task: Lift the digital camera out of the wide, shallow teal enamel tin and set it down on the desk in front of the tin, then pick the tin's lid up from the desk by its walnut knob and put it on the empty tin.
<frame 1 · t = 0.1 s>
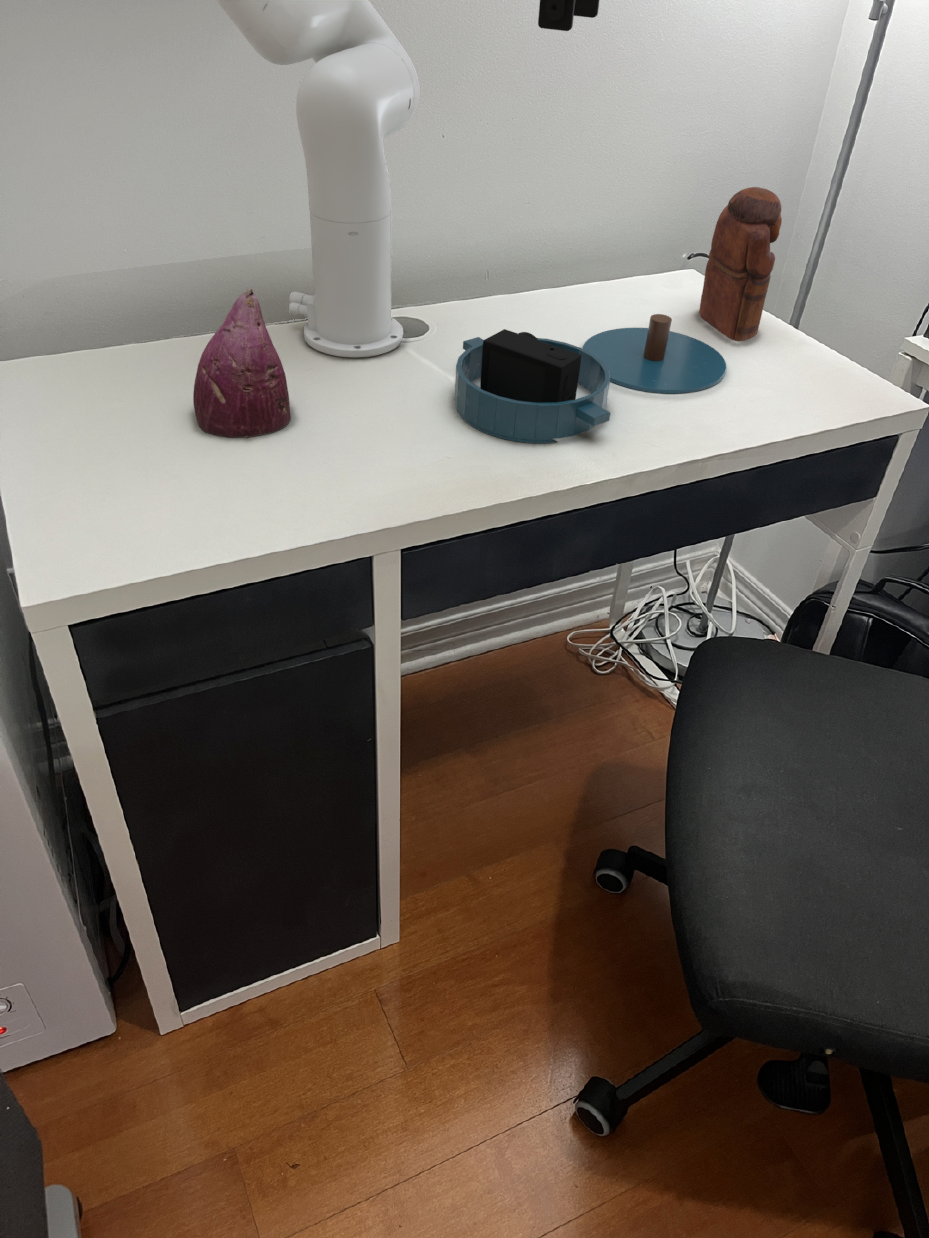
hand: (568, 22, 92), 37 cm above the table, tool pointing down, fingers open, 9 cm apart
digital camera: (529, 404, 109), resting on tin
wooden figurine: (727, 328, 130), on the table
tin lid: (653, 360, 119), point 1 cm above the table
vegetable: (243, 417, 104), on the table
tin: (529, 406, 109), on the table
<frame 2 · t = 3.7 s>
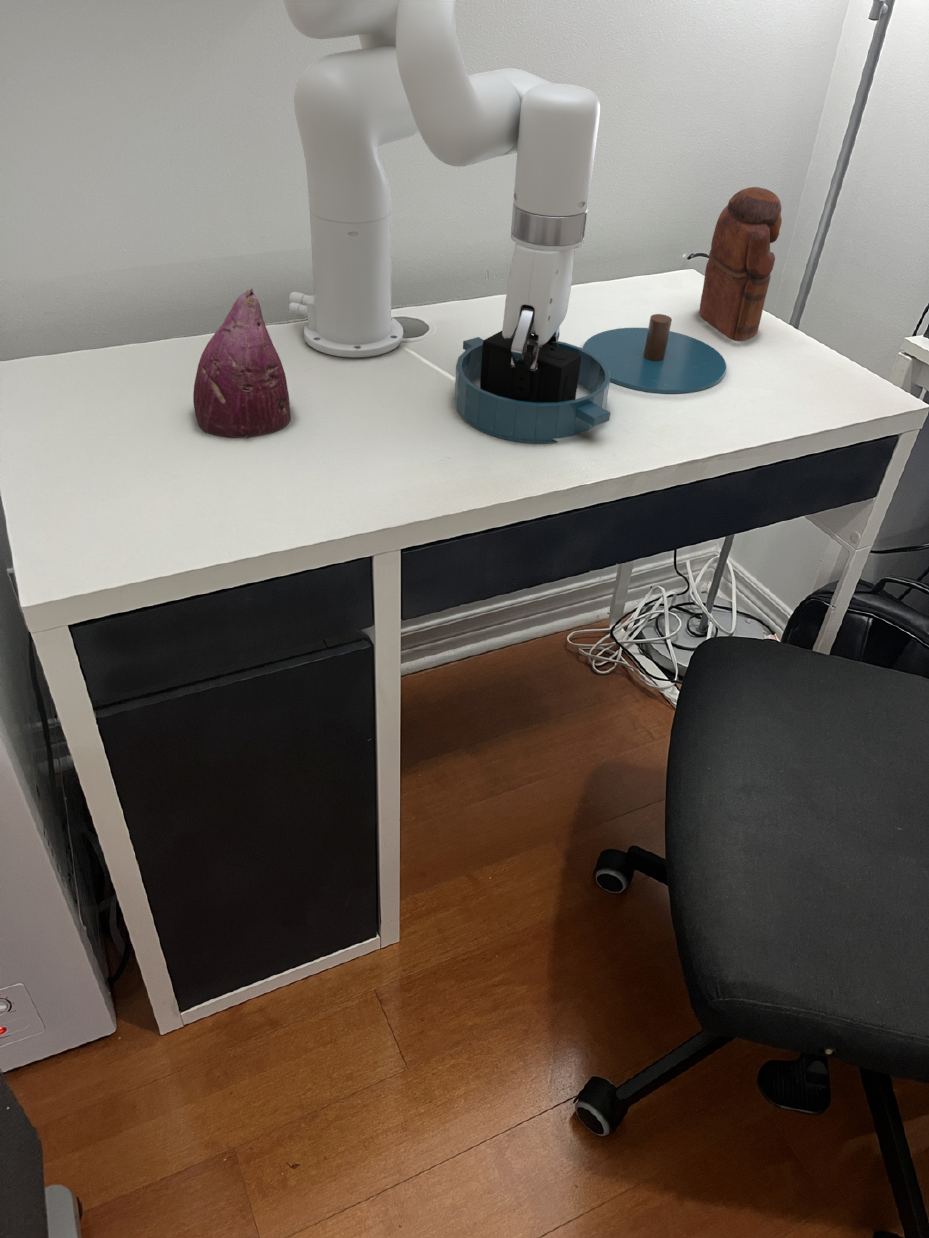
hand: (532, 386, 107), 3 cm above the table, tool pointing down, fingers closed on digital camera, 6 cm apart
digital camera: (529, 404, 109), resting on tin, touching gripper
everything else where it was.
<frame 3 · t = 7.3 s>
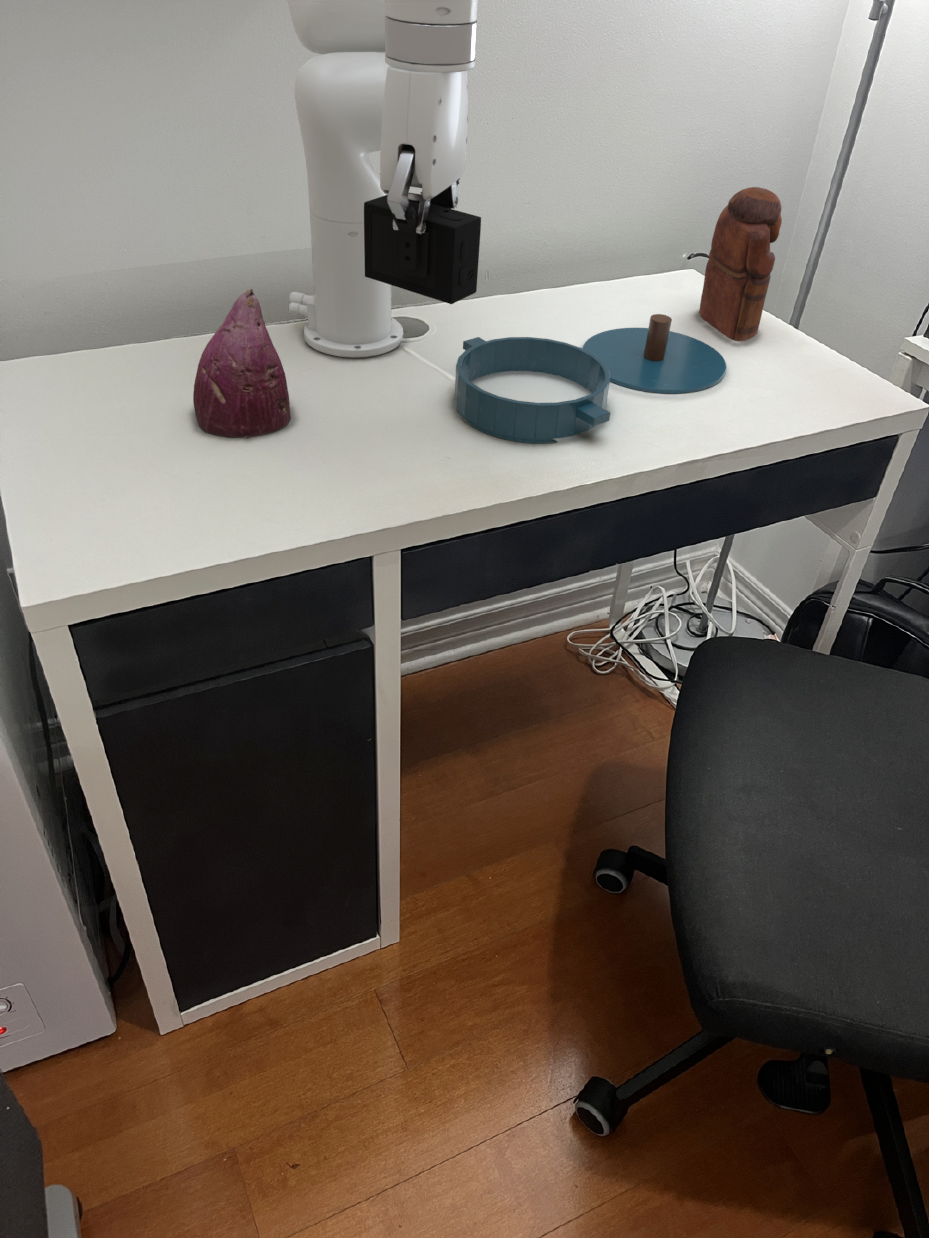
hand: (425, 261, 90), 19 cm above the table, tool pointing down, fingers closed on digital camera, 6 cm apart
digital camera: (424, 285, 91), point 17 cm above the table, touching gripper
everything else where it was.
when the fingers open (2 cm above the table, at t = 11.1 s): digital camera stays where it is, on the table.
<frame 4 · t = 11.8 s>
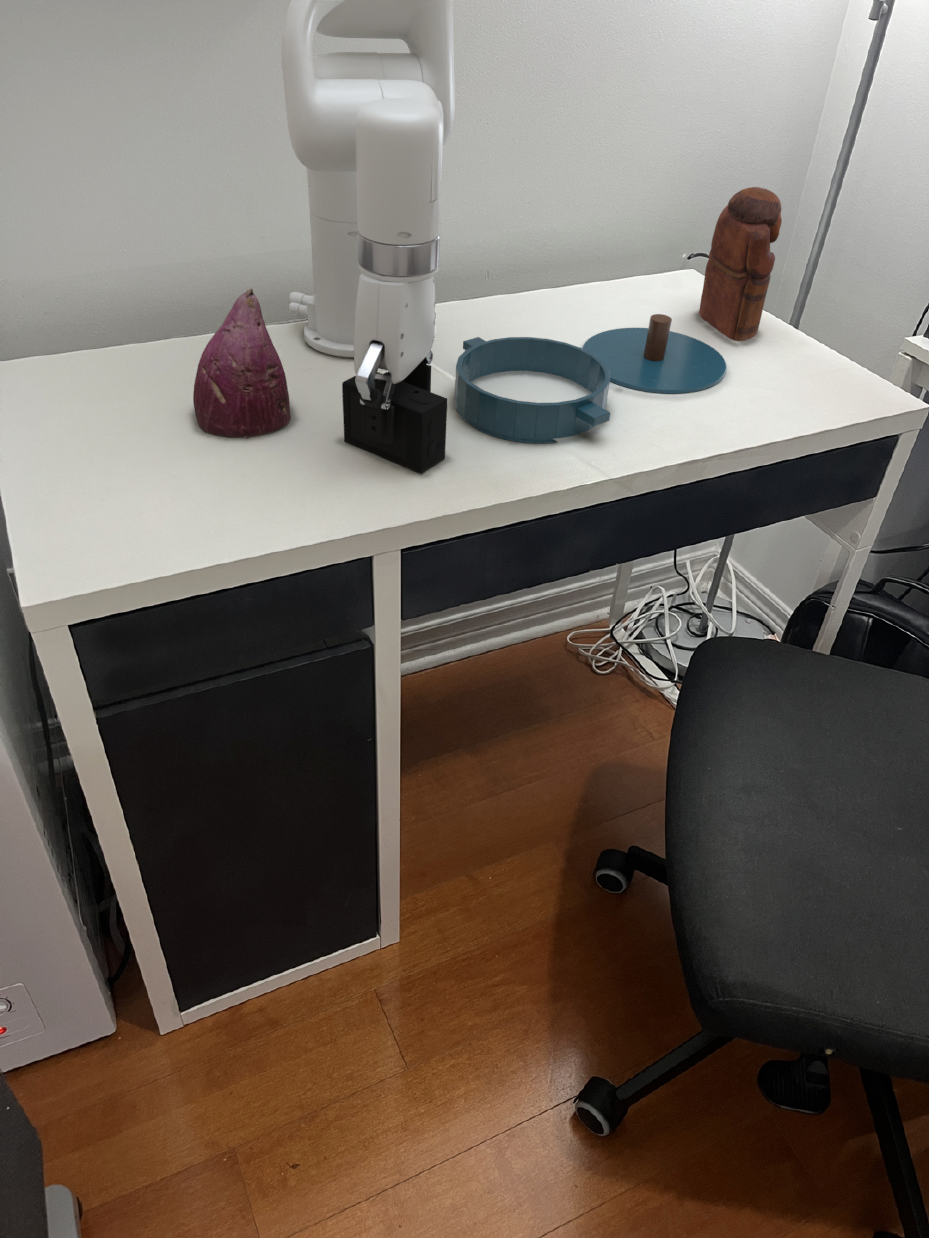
hand: (397, 418, 98), 3 cm above the table, tool pointing down, fingers open, 9 cm apart
digital camera: (398, 450, 100), on the table
everything else where it was.
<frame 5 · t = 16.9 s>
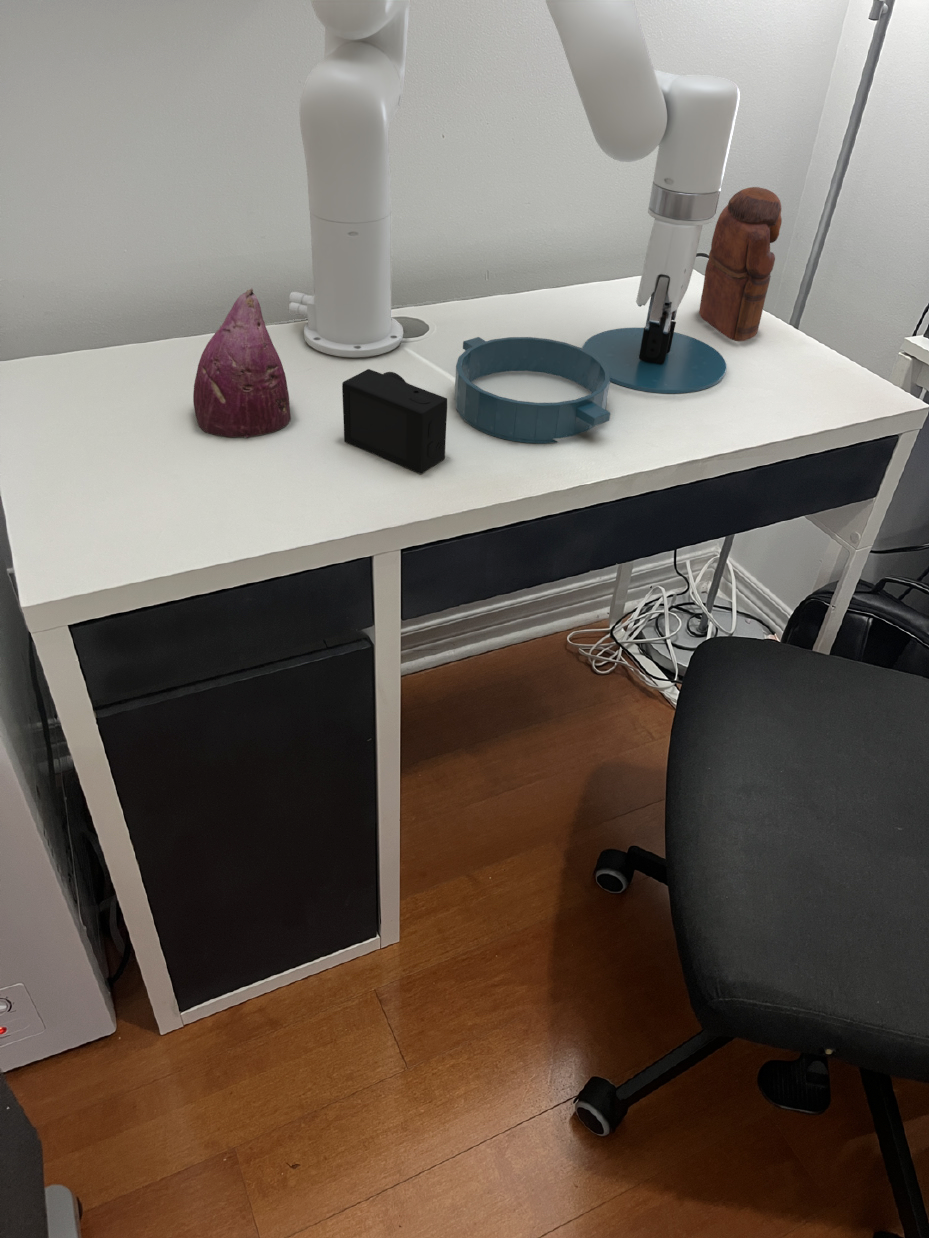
hand: (654, 354, 118), 1 cm above the table, tool pointing down, fingers closed on tin lid, 2 cm apart
tin lid: (653, 360, 119), point 1 cm above the table, touching gripper
everything else where it was.
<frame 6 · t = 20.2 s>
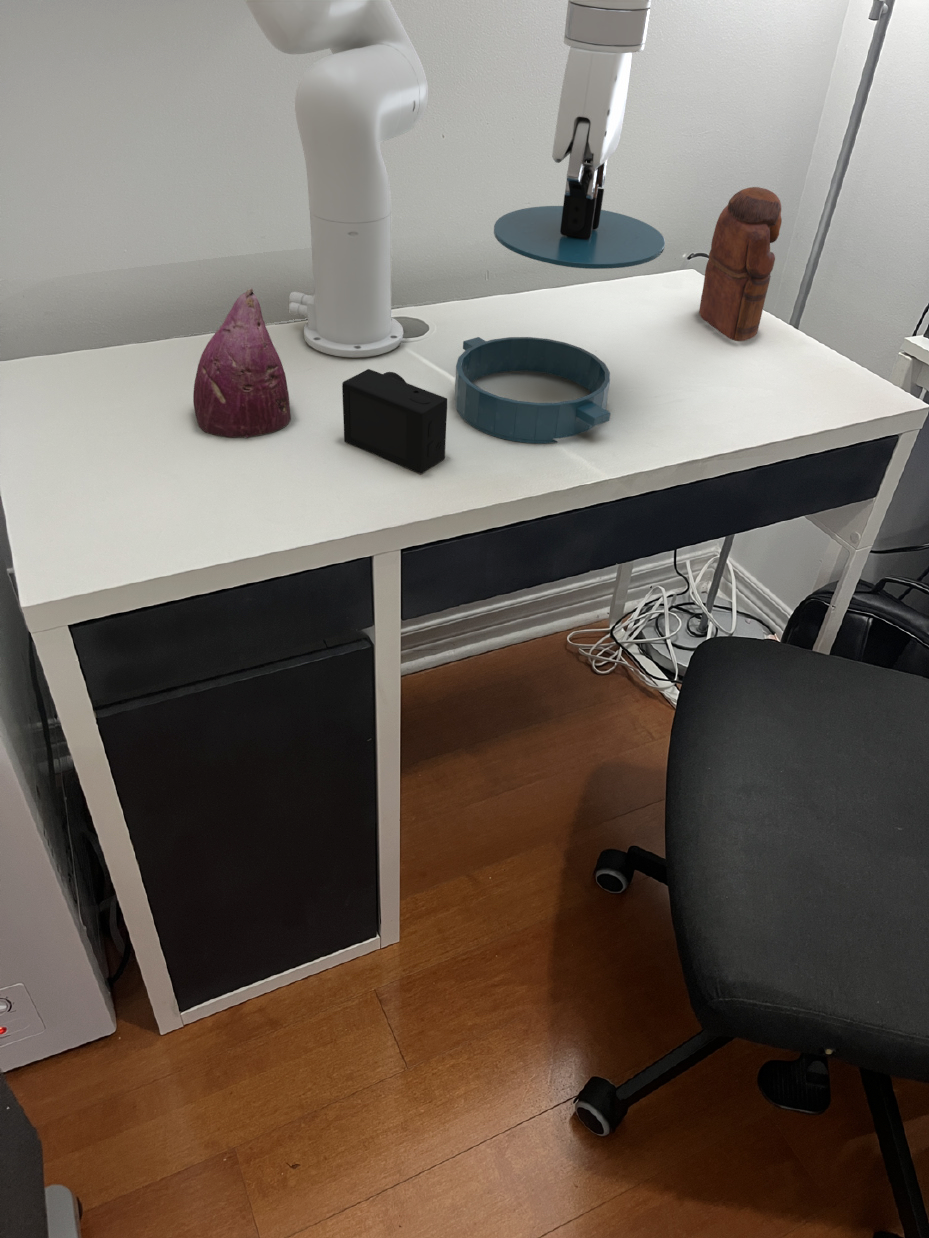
hand: (579, 230, 99), 19 cm above the table, tool pointing down, fingers closed on tin lid, 2 cm apart
tin lid: (578, 237, 100), point 18 cm above the table, touching gripper
everything else where it was.
when the fingers open (5 cm above the table, at t = 24.0 s): tin lid stays where it is, resting on tin.
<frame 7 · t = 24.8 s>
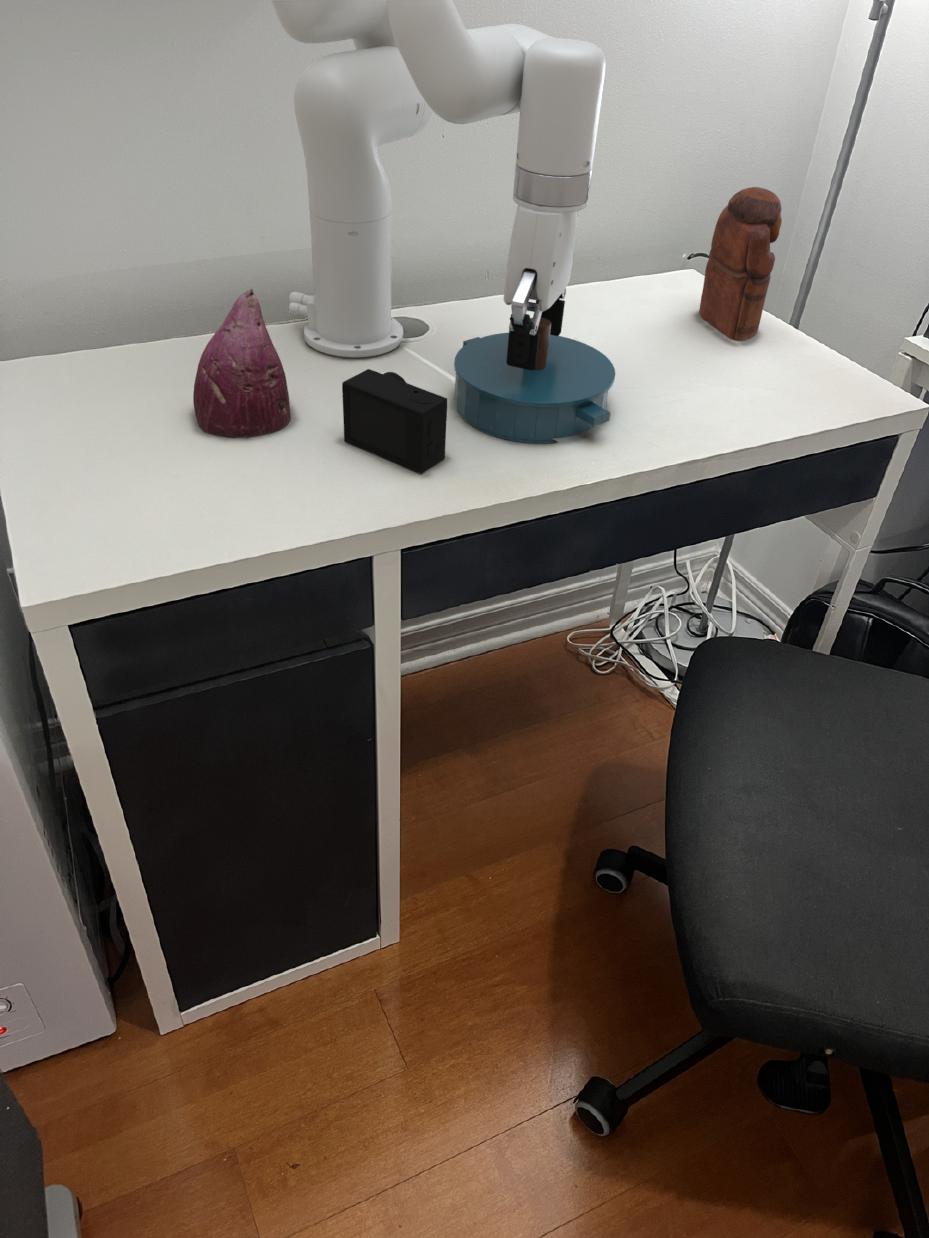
hand: (534, 349, 105), 7 cm above the table, tool pointing down, fingers open, 9 cm apart
tin lid: (534, 369, 106), point 5 cm above the table, touching tin
everything else where it was.
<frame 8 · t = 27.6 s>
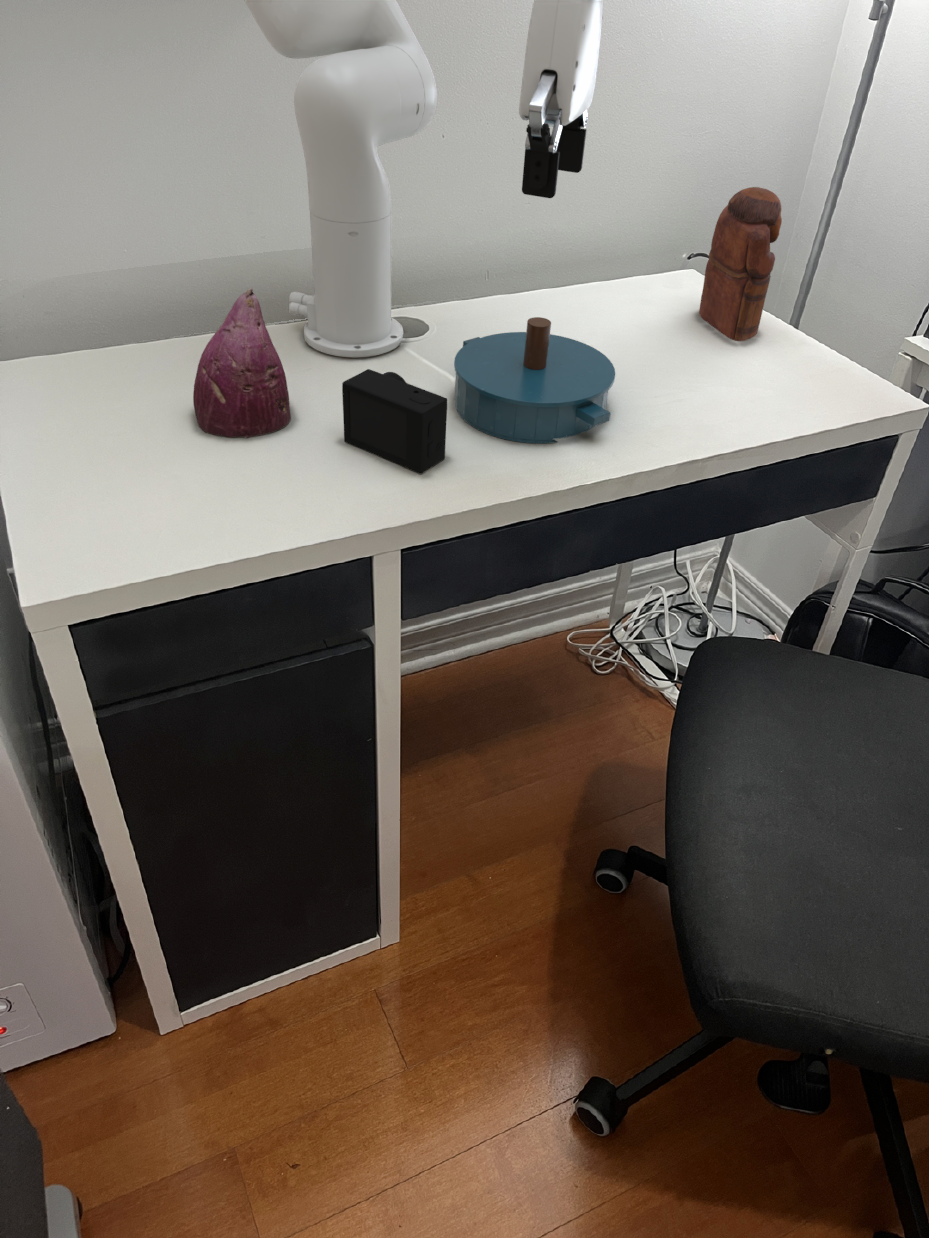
hand: (552, 182, 93), 24 cm above the table, tool pointing down, fingers open, 9 cm apart
nothing on the table moved.
at the end: digital camera inside the target area (0.2 cm from its centre), on the table; tin lid 0.1 cm off-centre on the tin, point 4.6 cm above the tin's base; tin lid tilted 0° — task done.
